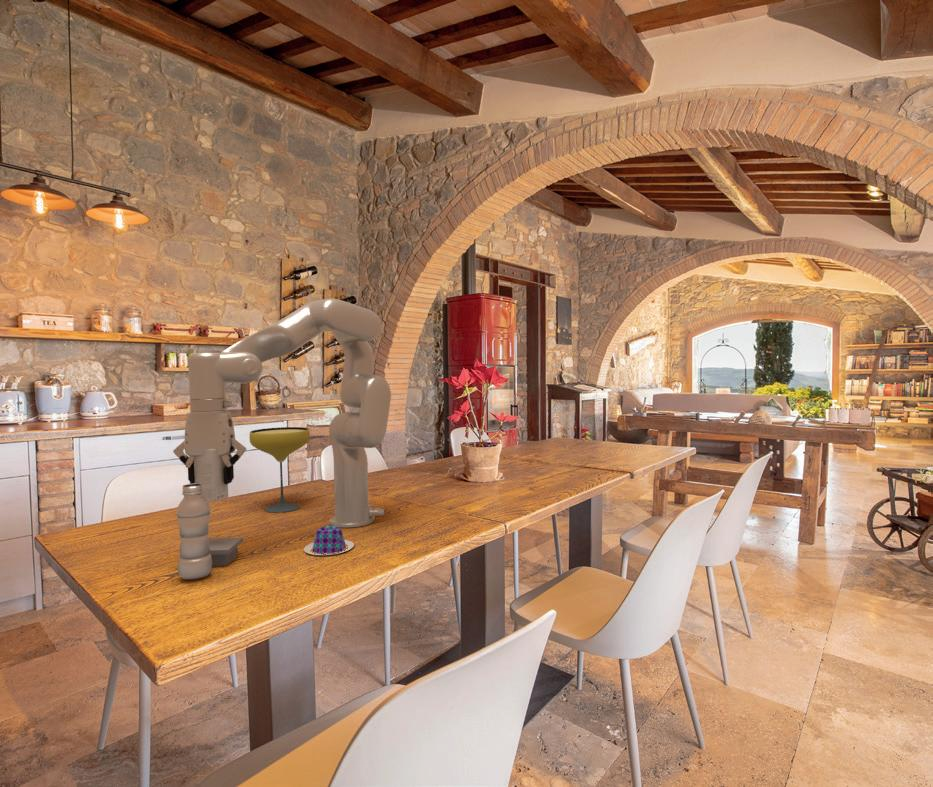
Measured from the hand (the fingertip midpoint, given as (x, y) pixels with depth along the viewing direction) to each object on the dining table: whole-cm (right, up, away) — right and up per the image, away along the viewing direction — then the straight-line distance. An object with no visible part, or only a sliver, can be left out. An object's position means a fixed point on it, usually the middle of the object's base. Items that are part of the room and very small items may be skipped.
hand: (211, 482), depth 127 cm
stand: (0, -18, +1) cm, 18 cm away
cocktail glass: (0, -16, +48) cm, 51 cm away
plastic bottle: (+1, -19, -9) cm, 21 cm away
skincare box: (0, -4, 0) cm, 4 cm away
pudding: (+25, -18, +9) cm, 32 cm away
